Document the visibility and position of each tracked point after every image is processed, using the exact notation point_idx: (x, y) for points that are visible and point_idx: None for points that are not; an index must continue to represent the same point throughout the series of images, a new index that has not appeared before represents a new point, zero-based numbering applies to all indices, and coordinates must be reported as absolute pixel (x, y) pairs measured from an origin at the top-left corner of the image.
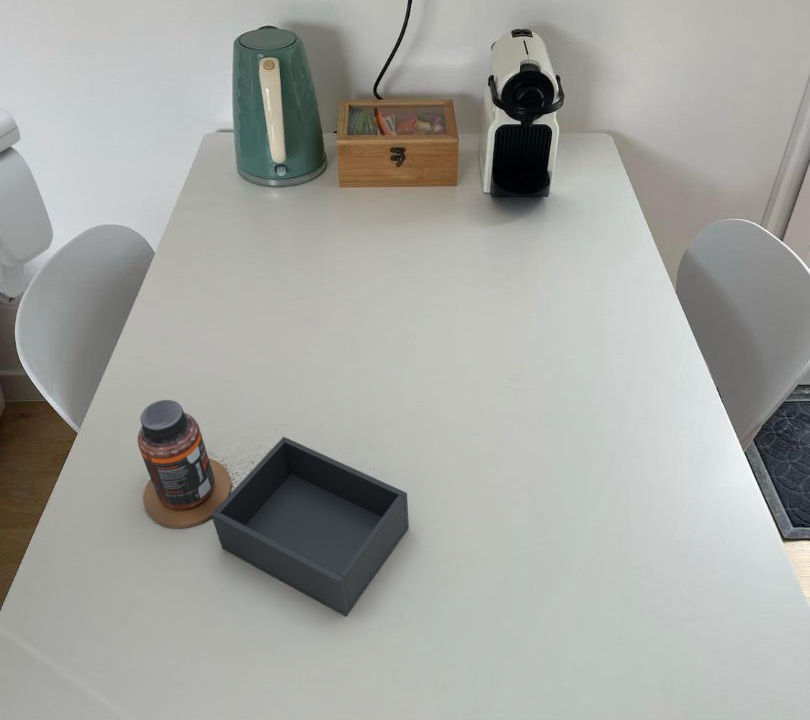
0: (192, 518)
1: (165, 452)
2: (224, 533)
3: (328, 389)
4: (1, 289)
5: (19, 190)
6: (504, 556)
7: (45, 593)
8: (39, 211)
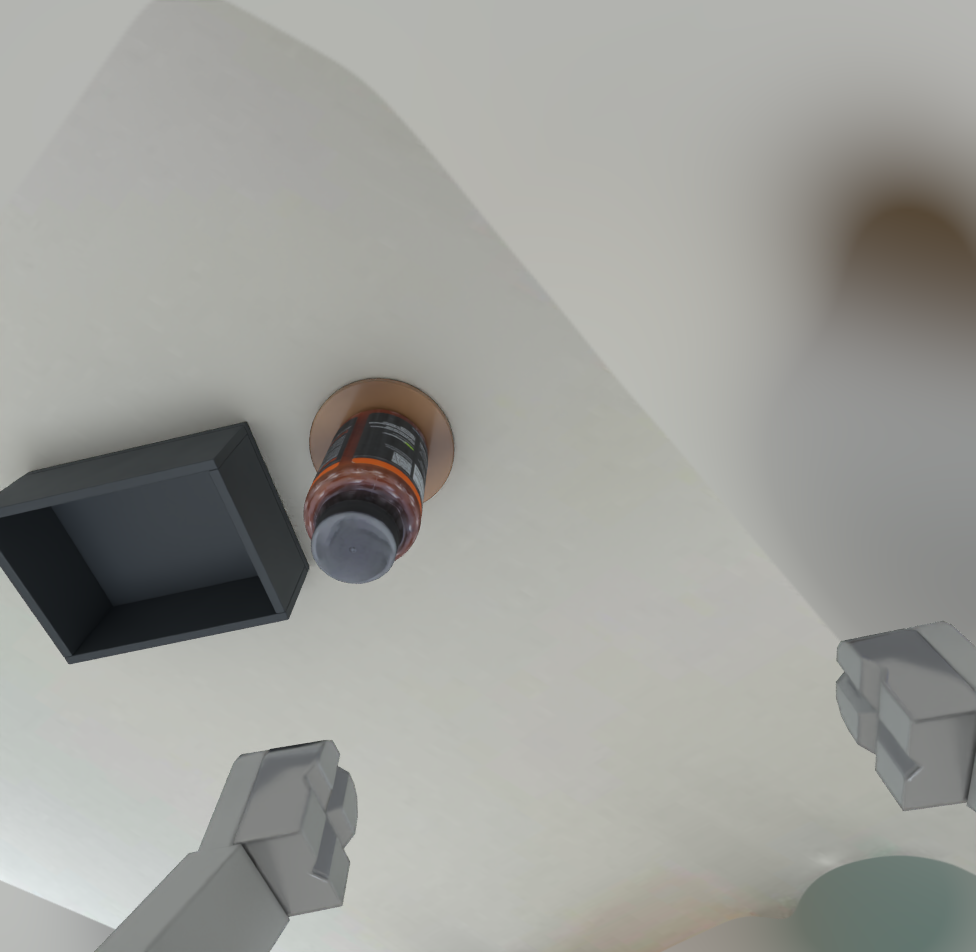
0: (321, 424)
1: (313, 494)
2: (209, 447)
3: (409, 684)
4: (276, 771)
5: None
6: (4, 652)
7: (362, 160)
8: None
